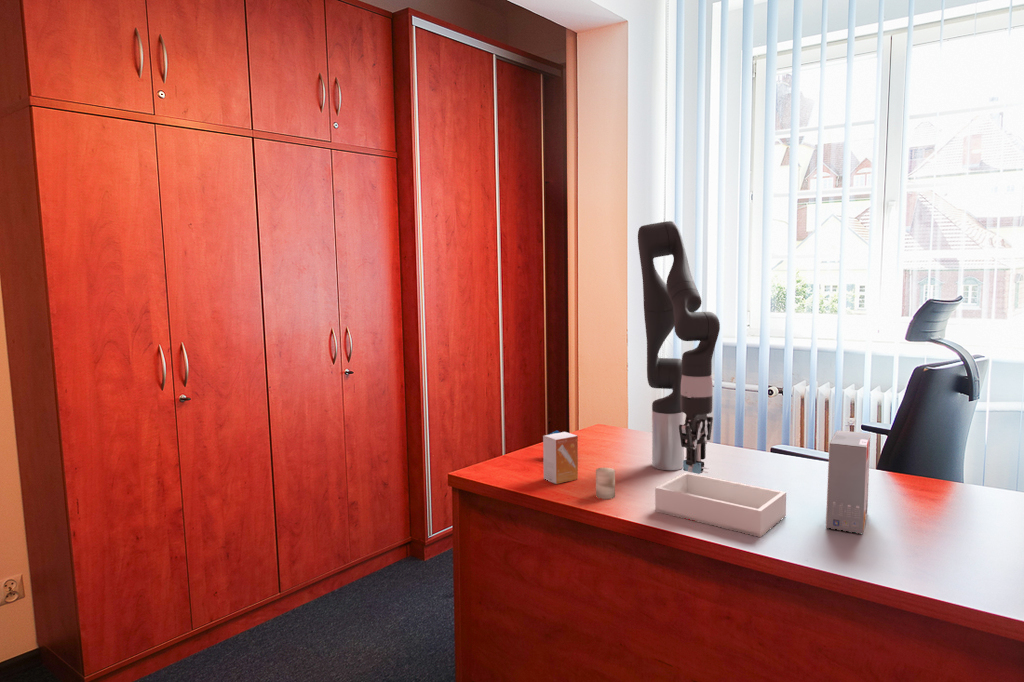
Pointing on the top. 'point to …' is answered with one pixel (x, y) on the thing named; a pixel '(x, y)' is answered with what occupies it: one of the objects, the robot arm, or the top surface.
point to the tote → (721, 503)
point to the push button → (699, 464)
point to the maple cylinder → (605, 483)
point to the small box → (560, 457)
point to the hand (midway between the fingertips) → (696, 460)
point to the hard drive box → (848, 481)
